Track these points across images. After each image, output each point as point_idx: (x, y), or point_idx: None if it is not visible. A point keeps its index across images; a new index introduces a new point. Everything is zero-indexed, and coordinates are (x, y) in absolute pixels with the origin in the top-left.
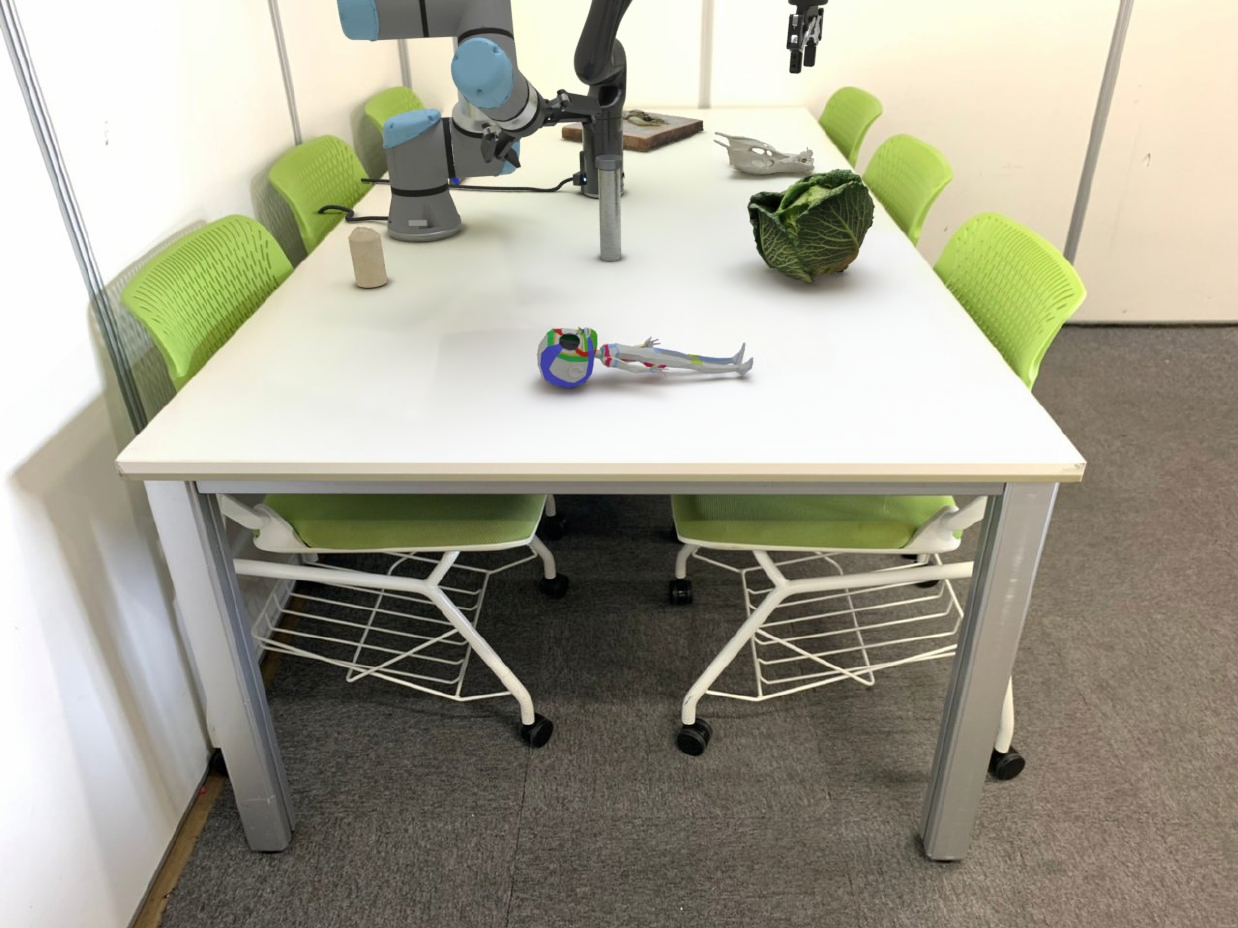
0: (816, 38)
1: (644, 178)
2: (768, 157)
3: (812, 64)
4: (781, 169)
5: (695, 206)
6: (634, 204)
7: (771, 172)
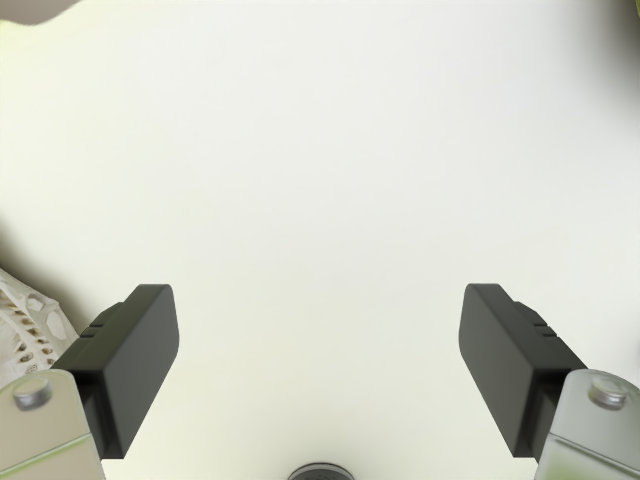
0: (60, 436)
1: (198, 473)
2: (28, 314)
3: (165, 296)
4: (9, 276)
5: (323, 340)
6: (358, 428)
7: (35, 290)
